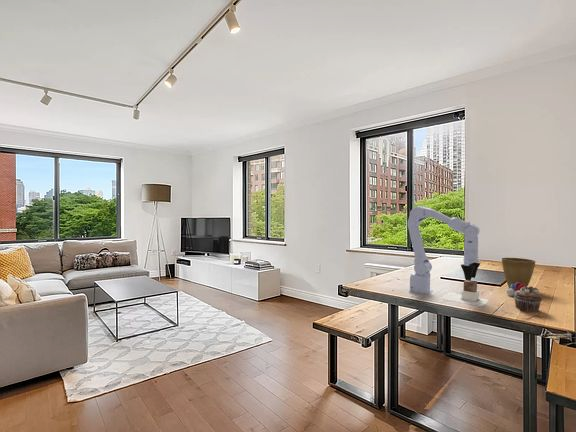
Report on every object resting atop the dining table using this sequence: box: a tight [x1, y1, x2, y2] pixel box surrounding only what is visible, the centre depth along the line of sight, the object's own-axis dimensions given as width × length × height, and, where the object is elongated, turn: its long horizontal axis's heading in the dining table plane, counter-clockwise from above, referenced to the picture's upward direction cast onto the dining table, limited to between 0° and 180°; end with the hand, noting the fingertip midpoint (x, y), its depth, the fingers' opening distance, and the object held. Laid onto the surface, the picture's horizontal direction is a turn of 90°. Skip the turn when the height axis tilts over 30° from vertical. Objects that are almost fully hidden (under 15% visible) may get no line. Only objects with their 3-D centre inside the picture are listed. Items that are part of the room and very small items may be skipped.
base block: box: [460, 288, 480, 302], centre depth 157 cm, size 6×6×4 cm
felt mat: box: [439, 292, 490, 307], centre depth 157 cm, size 18×14×1 cm
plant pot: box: [501, 257, 536, 289], centre depth 178 cm, size 15×15×16 cm
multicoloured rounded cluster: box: [506, 282, 526, 297], centre depth 162 cm, size 8×10×7 cm
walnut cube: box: [463, 279, 478, 292], centre depth 157 cm, size 4×4×4 cm
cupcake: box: [513, 286, 543, 313], centre depth 143 cm, size 10×10×10 cm
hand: (470, 278), depth 157 cm, fingers open, 7 cm apart
